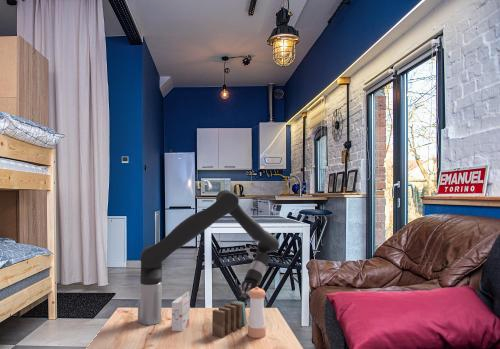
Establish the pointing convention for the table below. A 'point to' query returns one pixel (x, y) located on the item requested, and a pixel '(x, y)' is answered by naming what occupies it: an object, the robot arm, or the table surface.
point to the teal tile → (242, 312)
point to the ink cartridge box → (180, 313)
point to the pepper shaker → (256, 313)
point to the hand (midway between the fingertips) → (240, 306)
